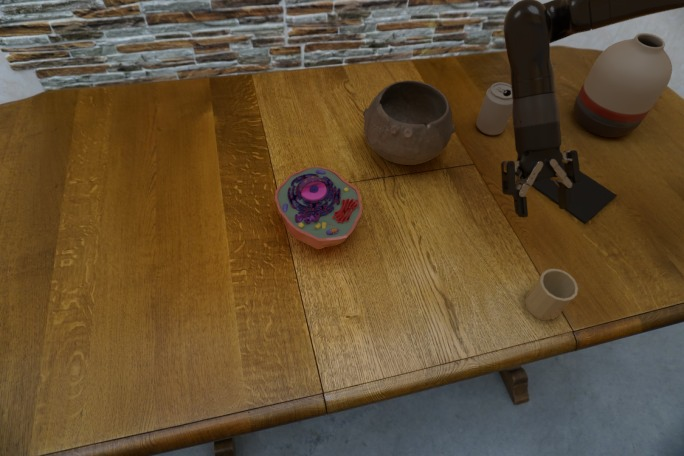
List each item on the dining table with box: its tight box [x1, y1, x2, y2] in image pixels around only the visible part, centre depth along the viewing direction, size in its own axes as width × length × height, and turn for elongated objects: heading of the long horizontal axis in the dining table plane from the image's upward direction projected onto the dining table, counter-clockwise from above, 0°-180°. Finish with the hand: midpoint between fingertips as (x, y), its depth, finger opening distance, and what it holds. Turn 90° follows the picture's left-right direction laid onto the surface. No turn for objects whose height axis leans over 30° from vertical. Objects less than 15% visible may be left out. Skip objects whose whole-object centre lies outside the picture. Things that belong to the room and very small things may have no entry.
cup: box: [524, 268, 579, 321], centre depth 86 cm, size 7×7×8 cm
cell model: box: [274, 166, 363, 250], centre depth 95 cm, size 17×20×11 cm
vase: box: [573, 32, 673, 138], centre depth 114 cm, size 17×17×24 cm
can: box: [475, 81, 513, 136], centre depth 116 cm, size 8×8×12 cm
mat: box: [515, 162, 618, 225], centre depth 109 cm, size 20×13×1 cm, turn 40°
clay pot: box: [362, 79, 456, 166], centre depth 109 cm, size 21×21×15 cm
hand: (544, 212), depth 84 cm, fingers open, 8 cm apart
